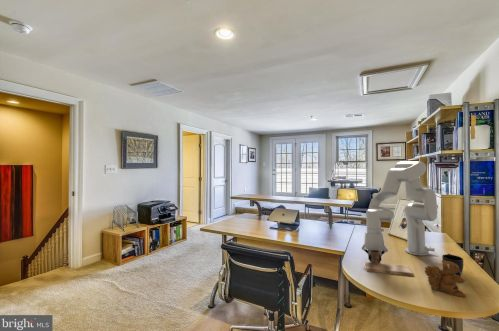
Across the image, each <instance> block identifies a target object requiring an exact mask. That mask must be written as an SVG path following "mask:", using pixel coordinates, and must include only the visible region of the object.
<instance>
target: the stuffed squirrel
mask: <svg viewBox="0 0 499 331" xmlns="http://www.w3.org/2000/svg"><path fill="white" fill-rule="evenodd" d="M441 263H442V265H441V266H442V270H441V269H440V268H439V267H438V266H437V265H426V266H425V267H424V273H425V275H426V276H427V282H428V284H429V286H430V287H431V288H432V289H434V290H435V291H442V292H444V293H447V294H449V295H452V296H455V297H462V298H466V293H465V292H463V291H462V290H461V291H460V290H459V284H462V283H464V282H465V280H466V279H465V278H464V277H462V276H461V277H460V276H458V275H455V273H457V272H459V271H460V270H459V266H458V265H457V264H455V263H453V262H451V261H445V260H441ZM460 274H461V272H460ZM461 275H462V274H461Z"/></svg>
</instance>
